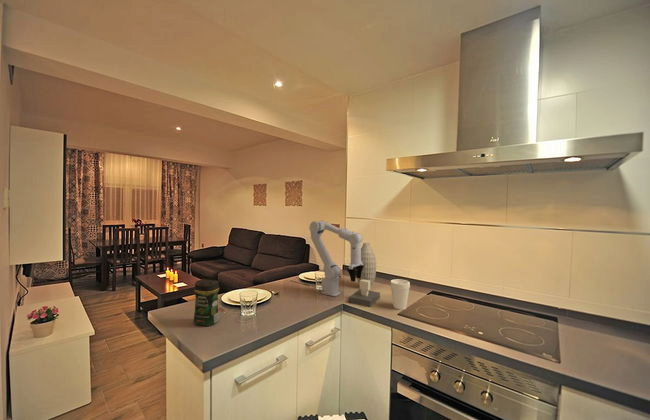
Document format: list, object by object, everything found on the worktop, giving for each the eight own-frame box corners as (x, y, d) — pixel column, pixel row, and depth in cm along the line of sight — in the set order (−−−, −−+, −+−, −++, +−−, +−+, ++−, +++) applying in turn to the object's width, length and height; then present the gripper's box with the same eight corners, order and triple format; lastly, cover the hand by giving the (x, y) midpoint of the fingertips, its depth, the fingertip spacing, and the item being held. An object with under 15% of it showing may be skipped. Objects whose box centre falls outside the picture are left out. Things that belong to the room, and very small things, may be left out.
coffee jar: (190, 325, 112) (190, 281, 112) (203, 317, 120) (203, 276, 120) (209, 328, 110) (210, 283, 110) (221, 320, 118) (222, 278, 117)
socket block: (348, 302, 142) (348, 296, 142) (360, 294, 156) (360, 289, 156) (370, 306, 136) (370, 301, 136) (380, 297, 150) (380, 292, 150)
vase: (352, 285, 173) (353, 241, 173) (370, 283, 177) (370, 241, 177) (360, 291, 161) (361, 244, 161) (379, 289, 165) (380, 244, 164)
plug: (359, 295, 146) (359, 280, 145) (361, 293, 149) (362, 279, 148) (367, 296, 143) (368, 282, 143) (370, 295, 146) (370, 280, 146)
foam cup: (402, 312, 130) (402, 285, 130) (386, 306, 137) (387, 281, 137) (412, 307, 136) (413, 282, 136) (397, 302, 143) (398, 278, 143)
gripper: (357, 257, 140) (357, 283, 140) (367, 253, 153) (367, 277, 153) (345, 256, 144) (345, 282, 144) (355, 253, 156) (355, 276, 156)
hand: (355, 279), depth 148 cm, fingers open, 7 cm apart
